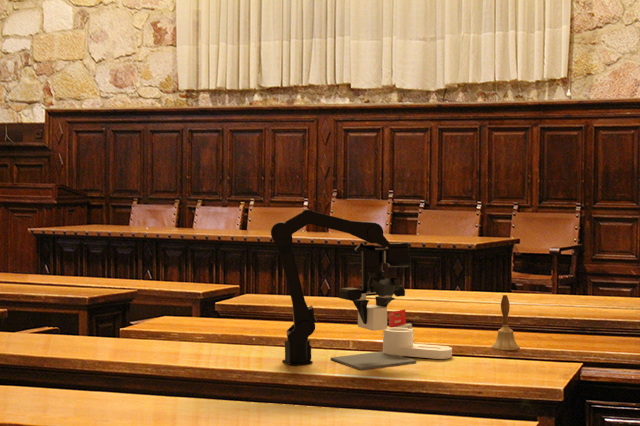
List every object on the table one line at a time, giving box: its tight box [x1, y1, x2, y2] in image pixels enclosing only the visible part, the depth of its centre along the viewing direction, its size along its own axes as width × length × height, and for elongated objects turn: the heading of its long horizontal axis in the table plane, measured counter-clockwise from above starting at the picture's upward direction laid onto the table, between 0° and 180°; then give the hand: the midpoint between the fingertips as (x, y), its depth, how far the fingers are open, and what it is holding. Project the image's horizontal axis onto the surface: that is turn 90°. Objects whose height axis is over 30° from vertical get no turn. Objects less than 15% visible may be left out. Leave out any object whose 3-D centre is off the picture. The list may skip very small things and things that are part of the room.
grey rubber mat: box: [330, 350, 417, 371], centre depth 226 cm, size 18×16×1 cm
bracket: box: [382, 327, 453, 360], centre depth 234 cm, size 20×9×7 cm, turn 71°
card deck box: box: [357, 304, 388, 332], centre depth 226 cm, size 8×4×6 cm, turn 29°
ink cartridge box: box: [388, 308, 413, 330], centre depth 256 cm, size 2×11×10 cm, turn 146°
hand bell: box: [491, 294, 521, 351], centre depth 245 cm, size 8×8×16 cm
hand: (372, 323), depth 226 cm, fingers closed on card deck box, 4 cm apart
